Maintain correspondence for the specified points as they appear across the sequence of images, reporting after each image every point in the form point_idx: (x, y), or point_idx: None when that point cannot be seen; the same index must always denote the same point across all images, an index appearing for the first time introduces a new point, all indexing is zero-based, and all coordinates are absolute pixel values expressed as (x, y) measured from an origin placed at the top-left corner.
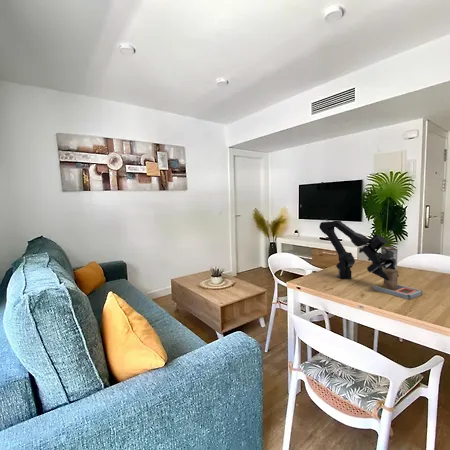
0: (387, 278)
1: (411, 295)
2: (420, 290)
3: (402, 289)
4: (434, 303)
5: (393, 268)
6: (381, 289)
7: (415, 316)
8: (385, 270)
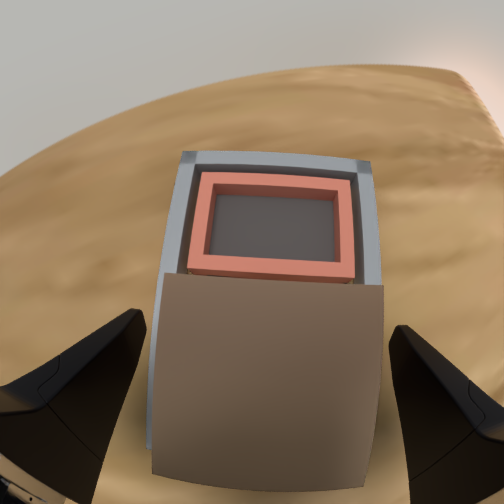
0: (415, 339)
1: (349, 159)
2: (188, 158)
3: (251, 257)
4: (298, 94)
5: (62, 396)
6: None
7: (483, 126)
8: (367, 453)
